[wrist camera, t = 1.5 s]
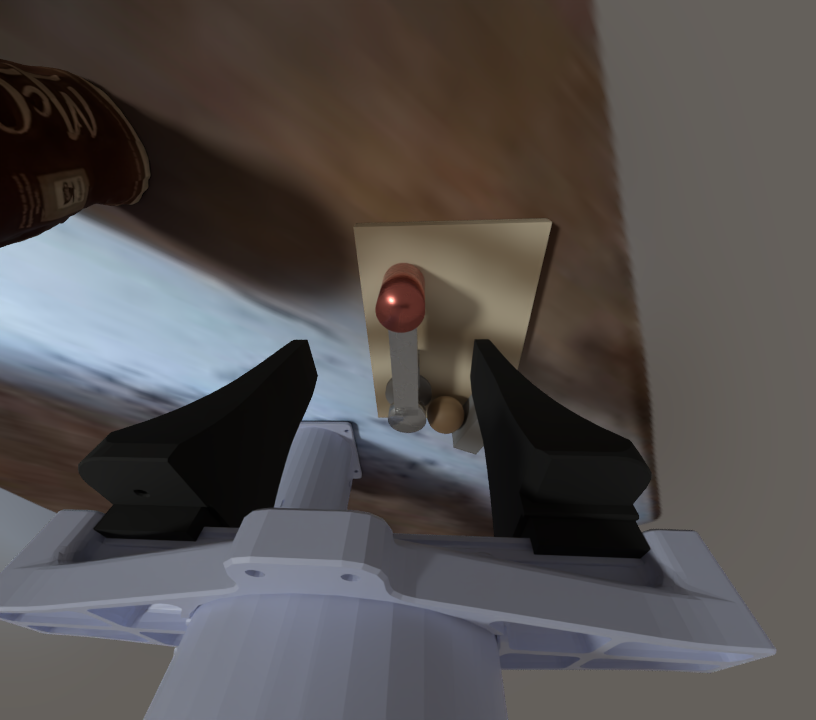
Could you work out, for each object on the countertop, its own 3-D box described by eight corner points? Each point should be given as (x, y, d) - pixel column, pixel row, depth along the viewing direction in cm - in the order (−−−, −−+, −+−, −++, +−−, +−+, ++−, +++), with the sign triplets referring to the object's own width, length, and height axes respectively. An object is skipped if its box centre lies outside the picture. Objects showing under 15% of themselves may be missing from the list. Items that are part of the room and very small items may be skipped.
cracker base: (501, 420, 30) (511, 455, 26) (380, 419, 30) (375, 453, 27) (546, 218, 19) (573, 235, 15) (356, 223, 19) (342, 240, 16)
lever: (425, 404, 27) (426, 443, 24) (392, 404, 27) (388, 442, 24) (426, 261, 19) (427, 287, 16) (379, 262, 20) (371, 288, 16)
